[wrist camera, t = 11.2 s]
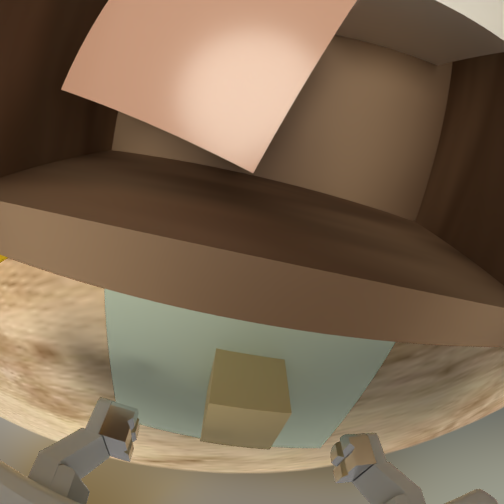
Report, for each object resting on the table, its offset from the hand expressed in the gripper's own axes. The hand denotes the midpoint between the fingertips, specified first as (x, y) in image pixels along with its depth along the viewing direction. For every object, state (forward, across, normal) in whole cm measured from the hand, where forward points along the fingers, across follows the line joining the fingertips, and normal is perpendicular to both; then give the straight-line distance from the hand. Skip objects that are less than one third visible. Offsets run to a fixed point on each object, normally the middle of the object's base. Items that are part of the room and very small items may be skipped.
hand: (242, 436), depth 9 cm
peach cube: (+3, +3, -12) cm, 13 cm away
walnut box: (+4, +1, -14) cm, 15 cm away
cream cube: (+3, -1, -16) cm, 16 cm away
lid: (+4, 0, 0) cm, 4 cm away
